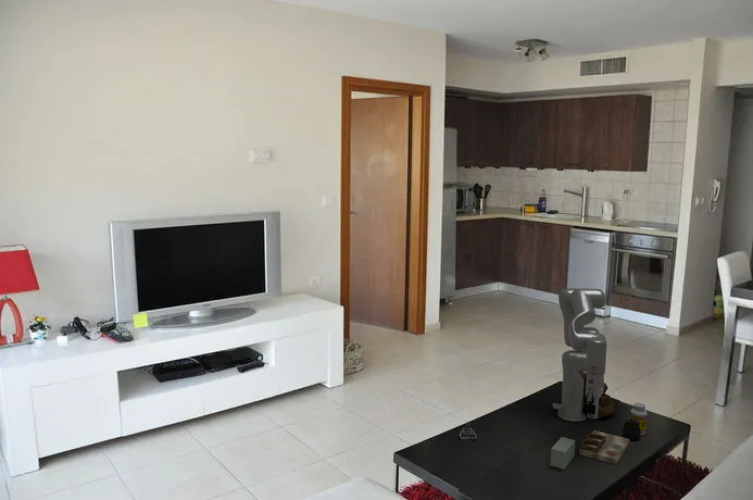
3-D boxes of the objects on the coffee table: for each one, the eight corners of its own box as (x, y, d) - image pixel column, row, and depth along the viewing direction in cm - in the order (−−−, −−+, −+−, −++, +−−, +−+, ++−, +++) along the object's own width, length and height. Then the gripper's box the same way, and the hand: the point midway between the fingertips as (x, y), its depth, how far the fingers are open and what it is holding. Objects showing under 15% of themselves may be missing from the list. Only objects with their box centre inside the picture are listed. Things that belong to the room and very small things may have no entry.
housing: (550, 465, 240) (551, 448, 239) (560, 452, 250) (561, 436, 249) (564, 469, 237) (565, 452, 236) (574, 456, 247) (575, 440, 246)
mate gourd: (625, 441, 261) (627, 419, 259) (619, 433, 268) (620, 411, 267) (642, 441, 260) (644, 419, 259) (635, 433, 268) (637, 412, 266)
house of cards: (478, 432, 269) (479, 415, 268) (480, 441, 261) (481, 424, 260) (458, 431, 270) (458, 415, 269) (459, 440, 261) (460, 423, 260)
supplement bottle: (642, 437, 264) (644, 409, 262) (627, 432, 269) (628, 404, 267) (648, 432, 269) (650, 404, 267) (633, 427, 274) (635, 400, 272)
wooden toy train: (566, 408, 295) (567, 375, 293) (580, 402, 302) (582, 370, 299) (602, 422, 279) (604, 387, 277) (617, 416, 286) (619, 382, 283)
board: (578, 454, 249) (579, 445, 248) (594, 434, 267) (594, 426, 266) (616, 464, 240) (617, 455, 240) (629, 443, 258) (630, 435, 258)
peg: (585, 417, 248) (587, 396, 247) (588, 414, 251) (590, 393, 250) (596, 419, 246) (597, 398, 244) (598, 416, 249) (600, 395, 248)
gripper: (599, 376, 237) (596, 421, 239) (610, 364, 250) (607, 407, 253) (579, 372, 241) (577, 416, 243) (591, 361, 254) (589, 403, 257)
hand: (592, 411), depth 248 cm, fingers closed on peg, 4 cm apart
